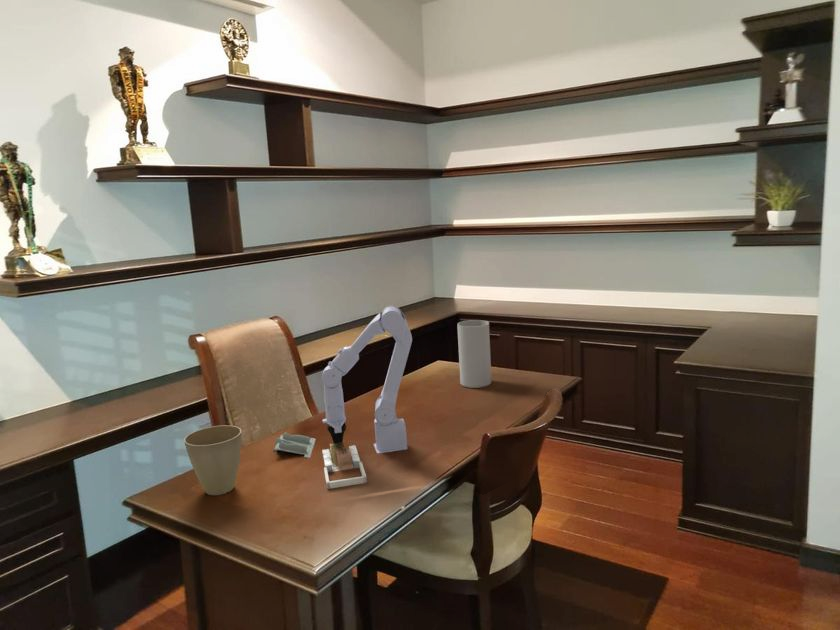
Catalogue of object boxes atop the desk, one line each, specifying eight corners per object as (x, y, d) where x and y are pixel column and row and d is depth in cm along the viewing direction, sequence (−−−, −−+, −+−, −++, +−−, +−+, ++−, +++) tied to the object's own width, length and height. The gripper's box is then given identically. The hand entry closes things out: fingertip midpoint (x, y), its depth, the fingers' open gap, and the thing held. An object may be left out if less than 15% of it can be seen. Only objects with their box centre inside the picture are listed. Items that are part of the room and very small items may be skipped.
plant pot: (258, 487, 171) (251, 432, 168) (207, 508, 161) (199, 450, 158) (231, 472, 182) (225, 420, 179) (182, 491, 172) (174, 436, 169)
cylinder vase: (458, 380, 257) (454, 321, 252) (487, 378, 258) (485, 319, 253) (463, 389, 245) (460, 327, 240) (494, 386, 246) (492, 325, 241)
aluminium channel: (355, 453, 190) (355, 445, 190) (360, 469, 179) (360, 460, 178) (323, 457, 188) (322, 449, 188) (325, 474, 177) (325, 465, 176)
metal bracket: (271, 445, 186) (280, 426, 201) (268, 462, 187) (277, 443, 202) (318, 454, 188) (324, 435, 202) (315, 471, 189) (320, 452, 203)
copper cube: (350, 460, 183) (349, 448, 182) (352, 466, 179) (351, 453, 179) (337, 463, 182) (335, 450, 182) (338, 468, 179) (337, 455, 178)
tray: (362, 469, 179) (361, 461, 178) (367, 484, 169) (366, 477, 168) (324, 474, 177) (323, 467, 176) (327, 490, 167) (326, 483, 166)
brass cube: (344, 454, 188) (342, 442, 187) (345, 459, 184) (344, 447, 184) (330, 456, 187) (329, 444, 187) (331, 461, 184) (330, 449, 183)
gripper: (319, 399, 195) (323, 440, 197) (322, 414, 181) (326, 458, 183) (342, 396, 196) (345, 436, 199) (346, 411, 182) (350, 454, 185)
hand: (338, 446), depth 191 cm, fingers closed
